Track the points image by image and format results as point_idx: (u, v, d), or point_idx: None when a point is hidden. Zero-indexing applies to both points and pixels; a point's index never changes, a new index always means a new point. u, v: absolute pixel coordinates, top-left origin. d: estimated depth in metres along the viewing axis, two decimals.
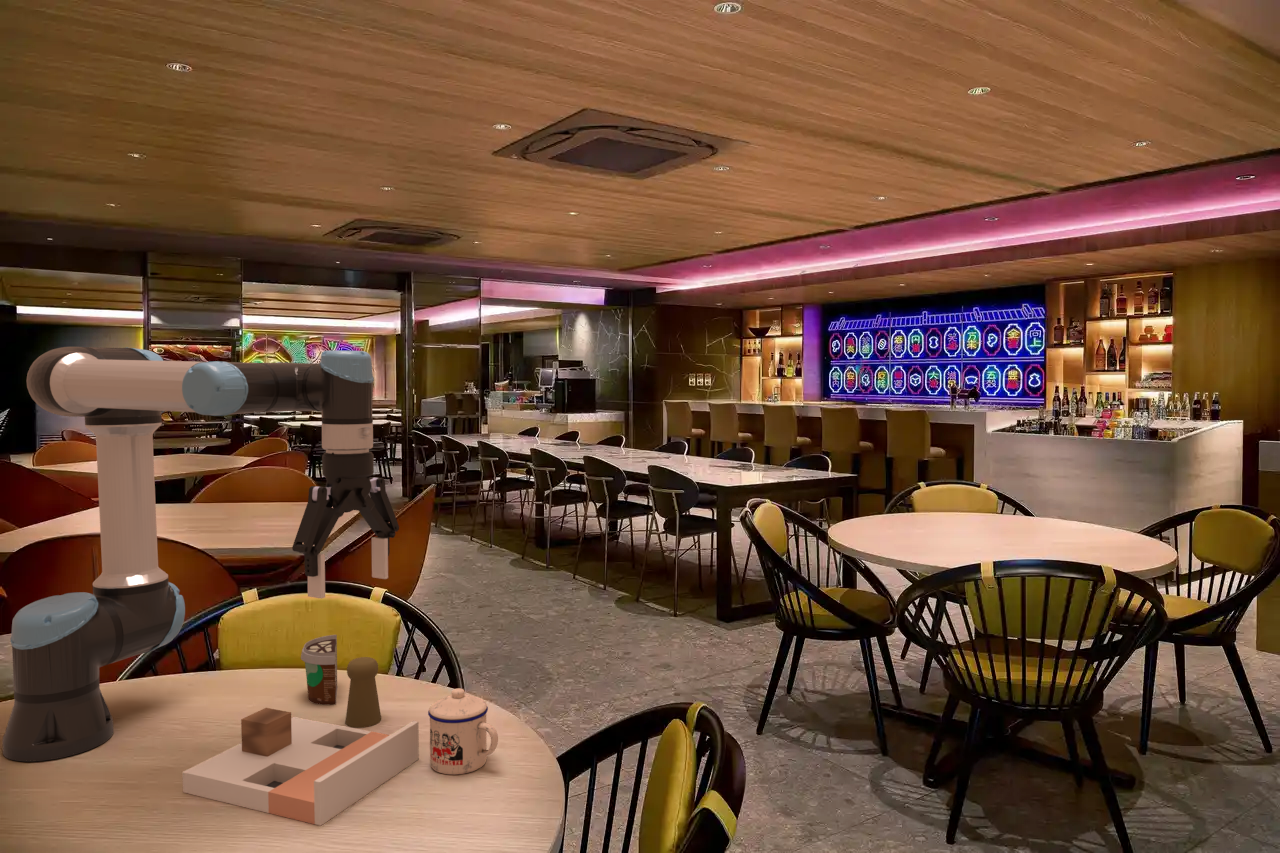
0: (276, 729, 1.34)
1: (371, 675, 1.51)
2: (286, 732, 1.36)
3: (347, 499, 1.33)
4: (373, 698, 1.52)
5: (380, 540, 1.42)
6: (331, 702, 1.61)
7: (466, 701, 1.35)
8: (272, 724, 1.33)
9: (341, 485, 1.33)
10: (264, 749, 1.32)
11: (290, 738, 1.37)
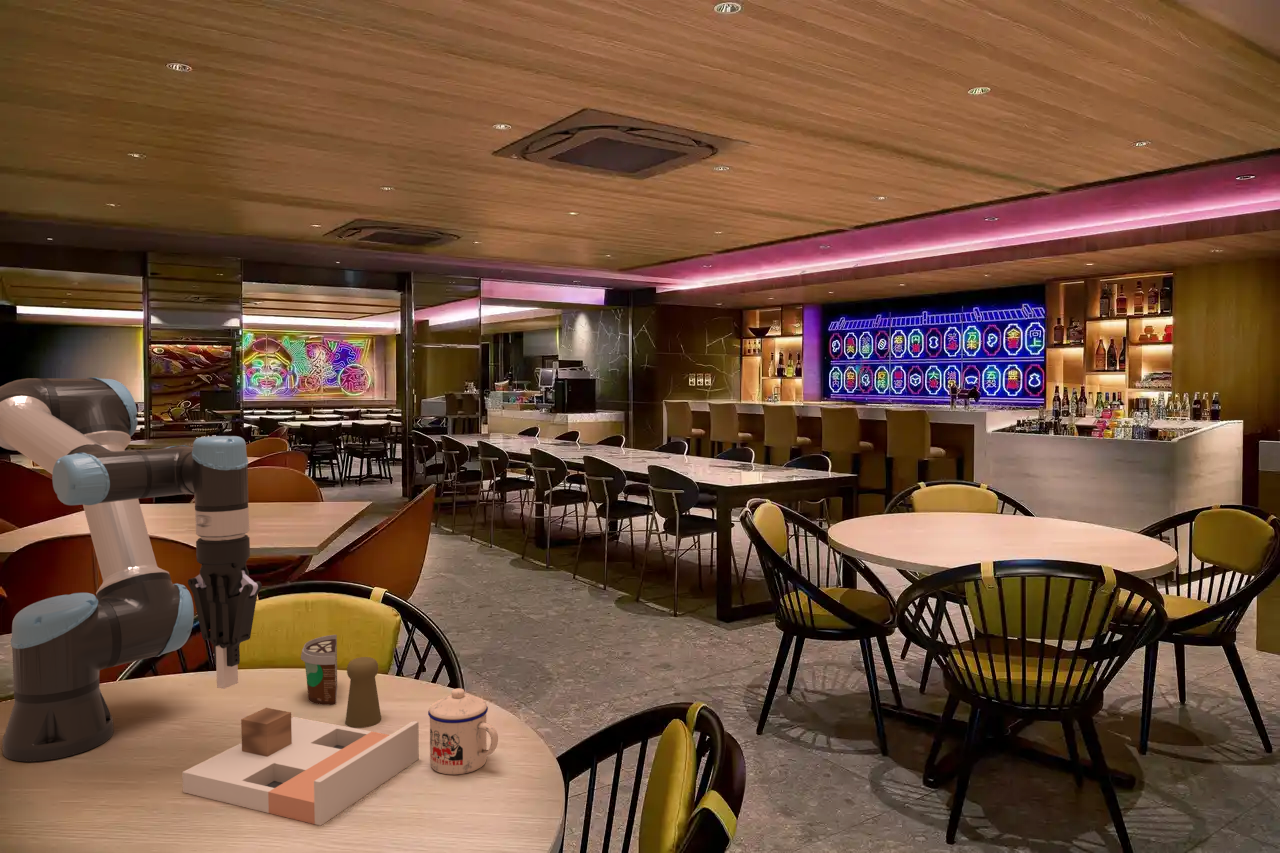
0: (276, 729, 1.34)
1: (371, 675, 1.51)
2: (286, 732, 1.36)
3: (208, 585, 1.36)
4: (373, 698, 1.52)
5: None
6: (331, 702, 1.61)
7: (466, 701, 1.35)
8: (272, 724, 1.33)
9: (202, 566, 1.37)
10: (264, 749, 1.32)
11: (290, 738, 1.37)
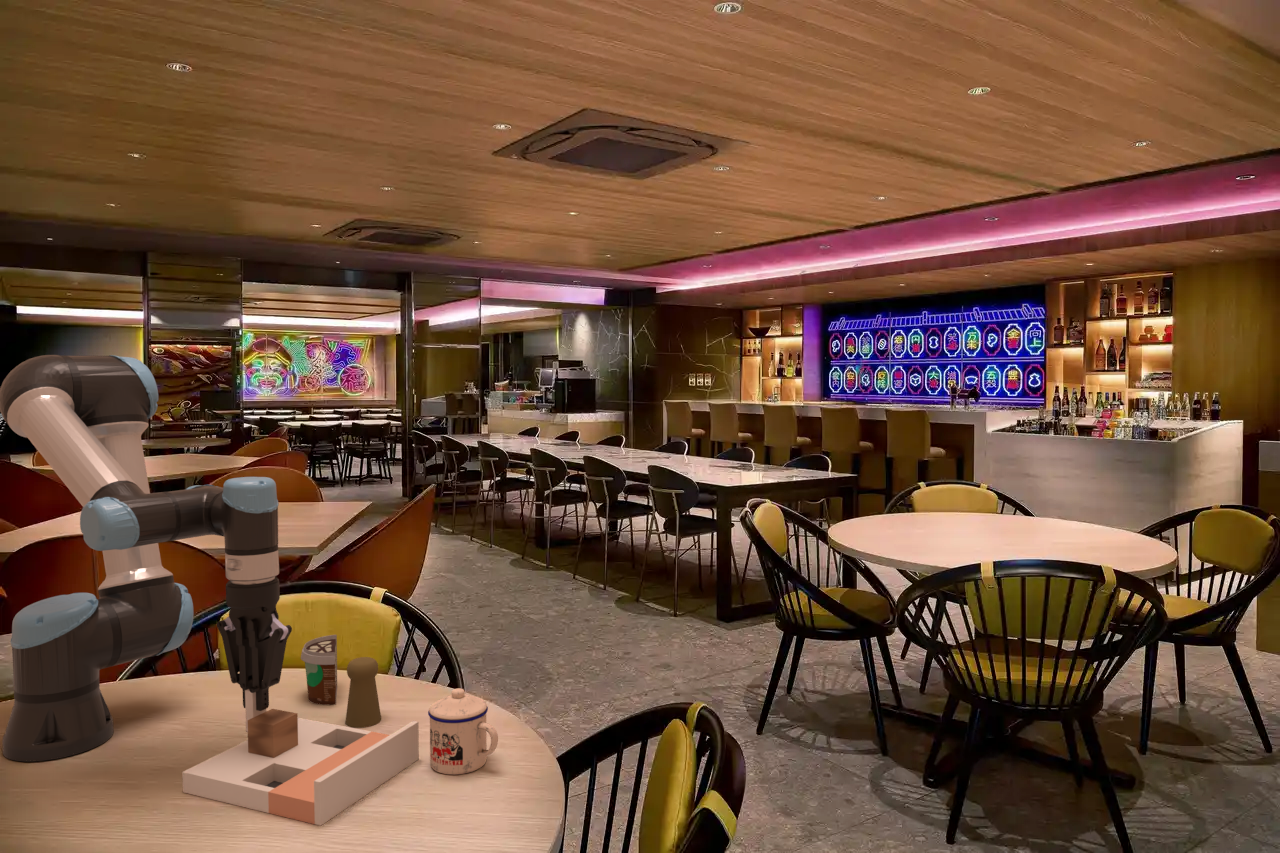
0: (282, 730, 1.33)
1: (371, 675, 1.51)
2: (292, 733, 1.35)
3: (237, 628, 1.34)
4: (373, 698, 1.52)
5: None
6: (331, 702, 1.61)
7: (466, 701, 1.35)
8: (278, 725, 1.32)
9: (231, 609, 1.35)
10: (271, 750, 1.32)
11: (296, 739, 1.36)
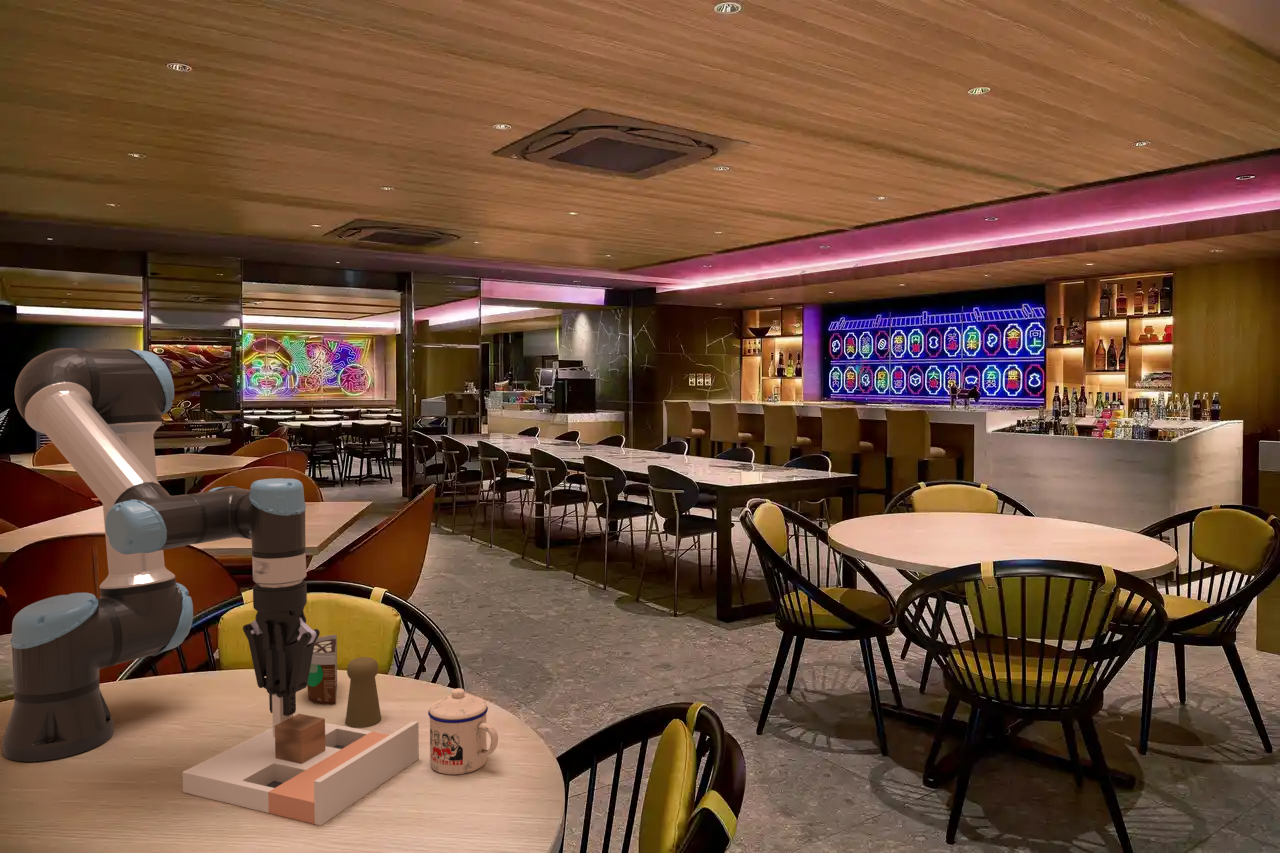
0: (310, 736, 1.31)
1: (372, 675, 1.51)
2: (320, 739, 1.33)
3: (264, 632, 1.32)
4: (373, 698, 1.52)
5: None
6: (331, 702, 1.61)
7: (466, 701, 1.35)
8: (306, 731, 1.31)
9: (258, 613, 1.33)
10: (299, 756, 1.30)
11: (324, 745, 1.34)
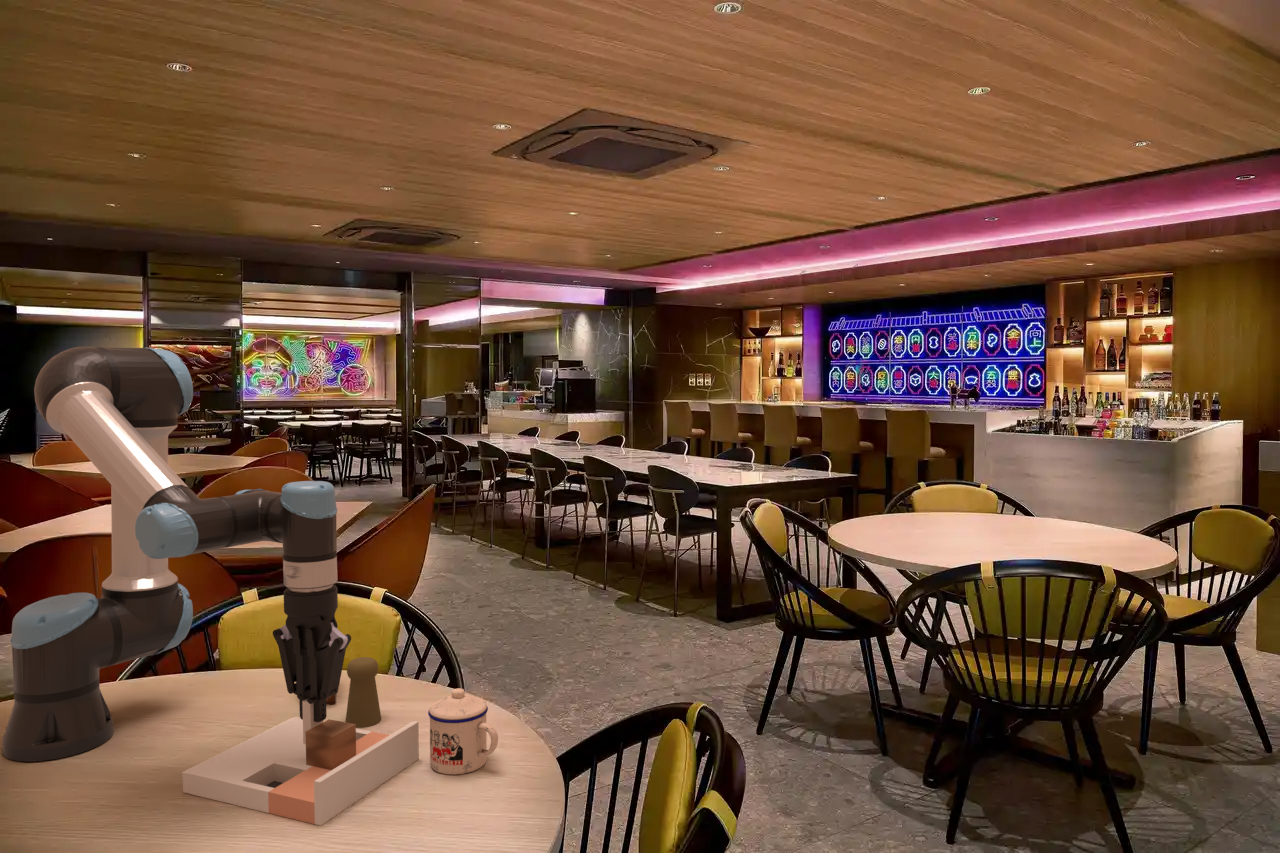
0: (341, 742, 1.29)
1: (371, 675, 1.51)
2: (351, 745, 1.31)
3: (295, 637, 1.30)
4: (373, 698, 1.52)
5: None
6: (331, 702, 1.61)
7: (466, 701, 1.35)
8: (338, 737, 1.29)
9: (288, 617, 1.31)
10: (330, 762, 1.28)
11: (355, 751, 1.32)
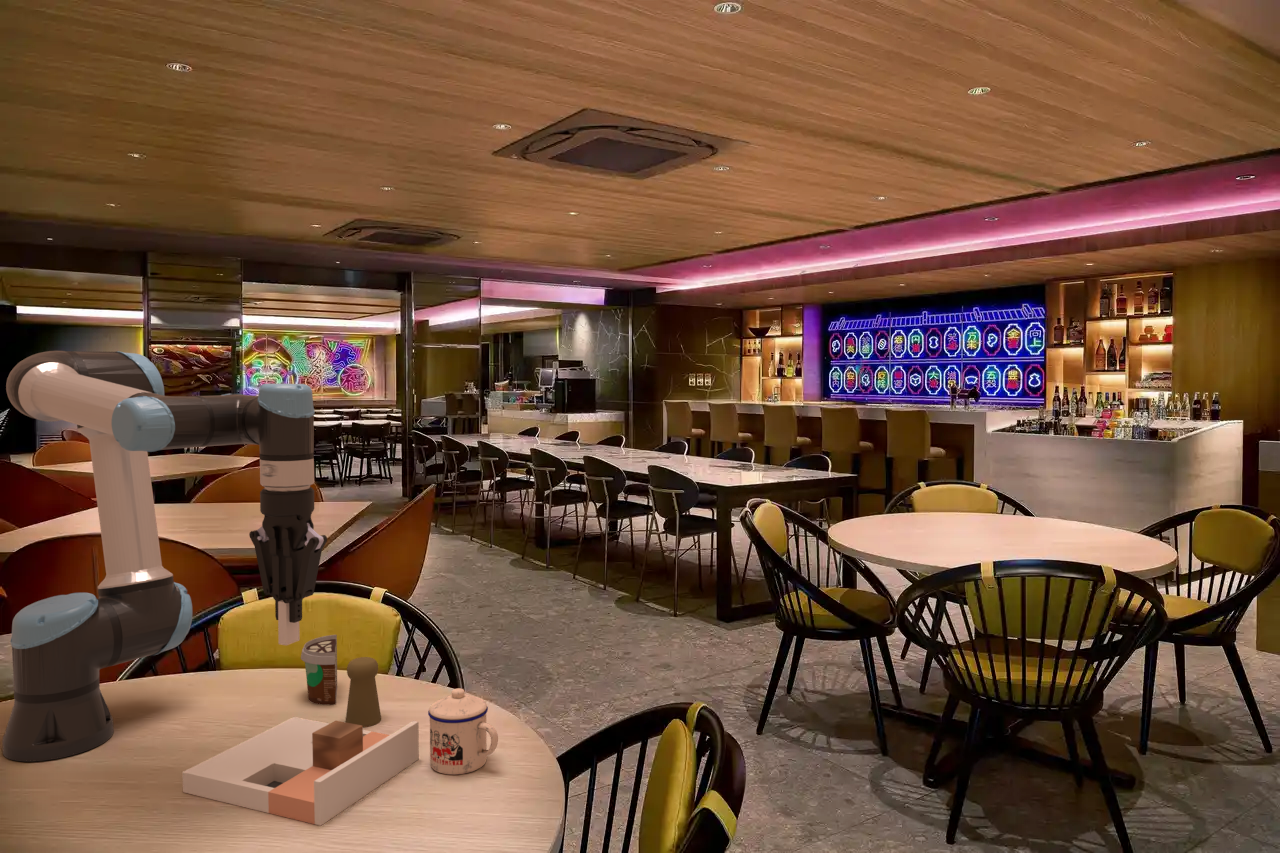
0: (348, 743, 1.29)
1: (371, 675, 1.51)
2: (358, 746, 1.31)
3: (271, 538, 1.30)
4: (373, 698, 1.52)
5: None
6: (331, 702, 1.61)
7: (466, 701, 1.35)
8: (345, 738, 1.28)
9: (265, 518, 1.32)
10: (337, 764, 1.27)
11: None
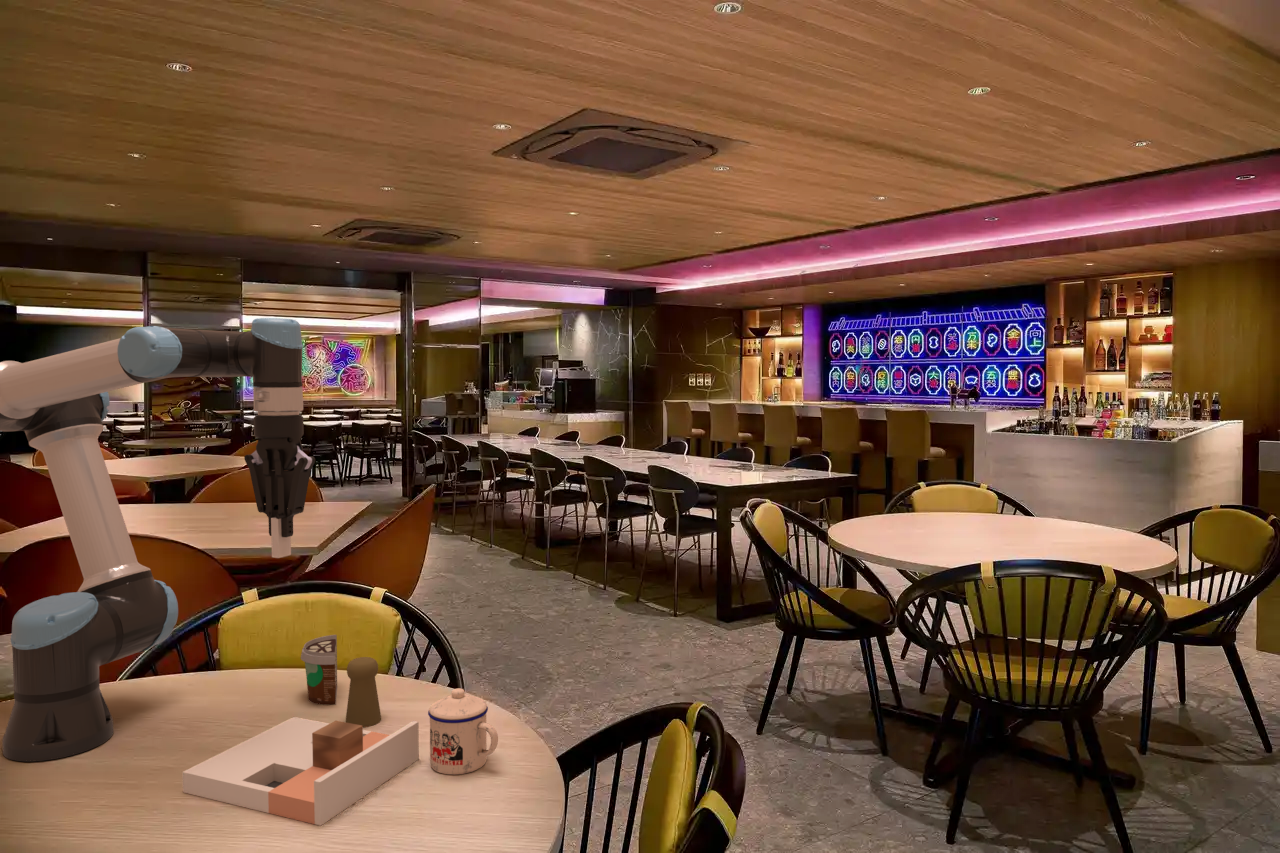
0: (348, 743, 1.29)
1: (371, 675, 1.51)
2: (358, 746, 1.31)
3: (264, 459, 1.43)
4: (373, 698, 1.52)
5: None
6: (331, 702, 1.61)
7: (466, 701, 1.35)
8: (345, 738, 1.28)
9: (259, 442, 1.44)
10: (337, 764, 1.27)
11: None
